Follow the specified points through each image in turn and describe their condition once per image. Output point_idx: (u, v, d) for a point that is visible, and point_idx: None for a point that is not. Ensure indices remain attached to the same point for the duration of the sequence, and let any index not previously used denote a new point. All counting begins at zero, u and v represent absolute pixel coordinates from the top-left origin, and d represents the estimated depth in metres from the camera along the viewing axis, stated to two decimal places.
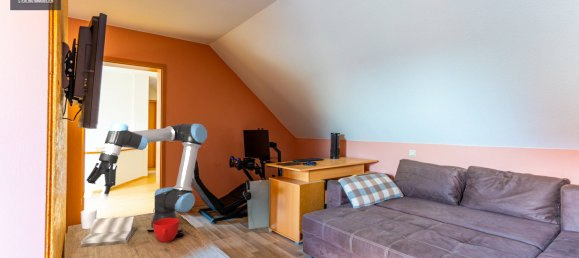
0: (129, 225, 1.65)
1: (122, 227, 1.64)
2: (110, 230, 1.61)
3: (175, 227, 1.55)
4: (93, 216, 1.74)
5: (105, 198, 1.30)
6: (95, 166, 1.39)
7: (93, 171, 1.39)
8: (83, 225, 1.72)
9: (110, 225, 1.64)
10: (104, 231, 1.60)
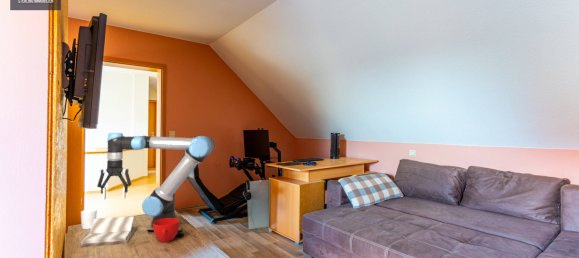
0: (129, 225, 1.65)
1: (122, 227, 1.64)
2: (110, 230, 1.61)
3: (175, 227, 1.55)
4: (93, 216, 1.74)
5: None
6: None
7: None
8: (83, 225, 1.72)
9: (110, 225, 1.64)
10: (104, 231, 1.60)
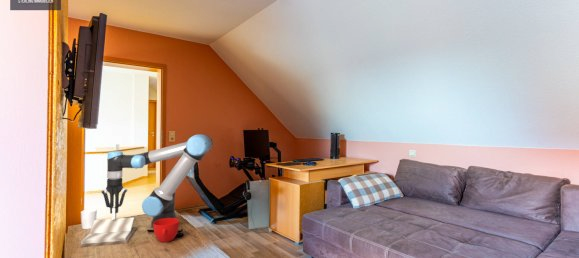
0: (129, 226, 1.66)
1: (122, 227, 1.64)
2: (110, 230, 1.61)
3: (175, 227, 1.55)
4: (93, 216, 1.74)
5: None
6: None
7: None
8: (83, 225, 1.72)
9: (110, 226, 1.64)
10: (104, 231, 1.60)
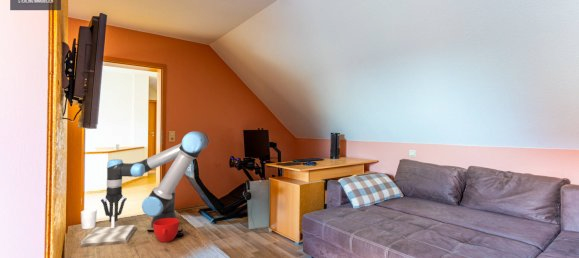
0: (130, 228, 1.66)
1: (122, 229, 1.64)
2: (110, 231, 1.61)
3: (175, 227, 1.55)
4: (93, 216, 1.74)
5: None
6: None
7: None
8: (83, 225, 1.72)
9: (110, 229, 1.64)
10: (104, 232, 1.60)
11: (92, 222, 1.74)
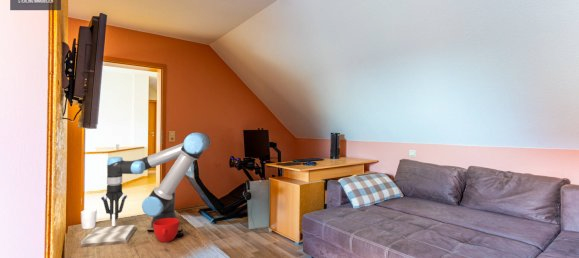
0: (130, 228, 1.66)
1: (122, 229, 1.64)
2: (110, 231, 1.61)
3: (175, 227, 1.55)
4: (93, 216, 1.74)
5: None
6: None
7: None
8: (83, 225, 1.72)
9: (110, 229, 1.64)
10: (104, 232, 1.60)
11: (92, 222, 1.74)
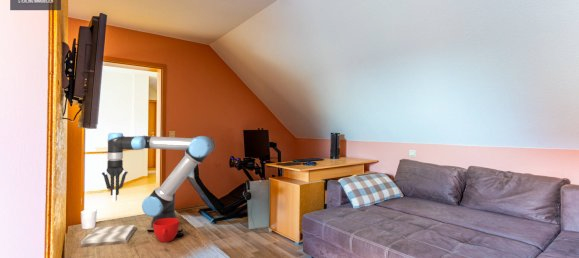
0: (130, 228, 1.66)
1: (122, 229, 1.64)
2: (110, 231, 1.61)
3: (175, 227, 1.55)
4: (93, 216, 1.74)
5: None
6: None
7: None
8: (83, 225, 1.72)
9: (110, 229, 1.64)
10: (104, 232, 1.60)
11: (92, 222, 1.74)
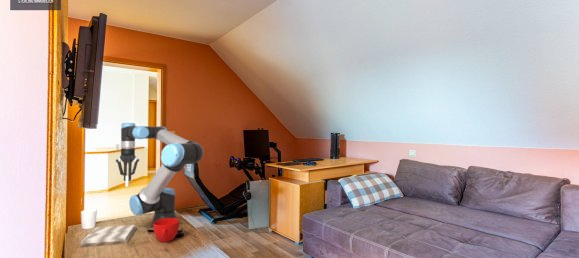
0: (130, 228, 1.66)
1: (122, 229, 1.64)
2: (110, 231, 1.61)
3: (175, 227, 1.55)
4: (93, 216, 1.74)
5: None
6: None
7: None
8: (83, 225, 1.72)
9: (110, 229, 1.64)
10: (104, 232, 1.60)
11: (92, 222, 1.74)
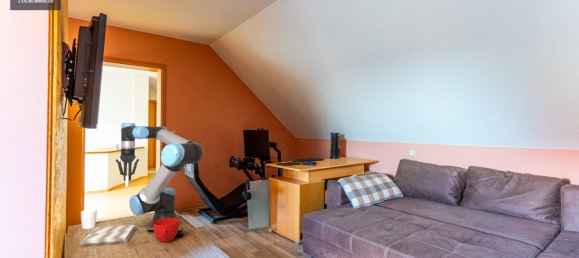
0: (130, 228, 1.66)
1: (122, 229, 1.64)
2: (110, 231, 1.61)
3: (175, 227, 1.55)
4: (93, 216, 1.74)
5: None
6: None
7: None
8: (83, 225, 1.72)
9: (110, 229, 1.64)
10: (104, 232, 1.60)
11: (92, 222, 1.74)
